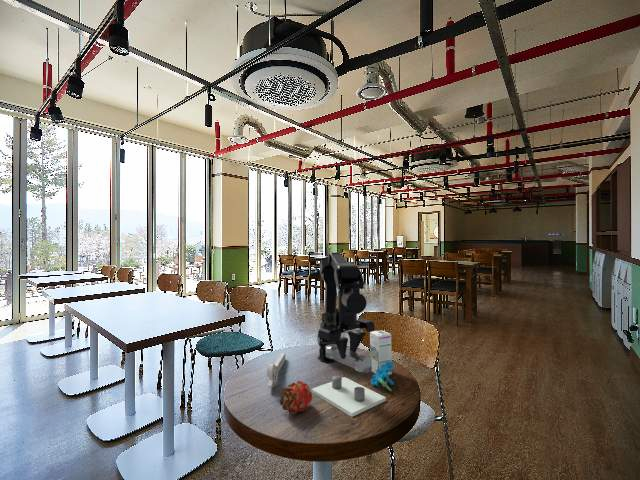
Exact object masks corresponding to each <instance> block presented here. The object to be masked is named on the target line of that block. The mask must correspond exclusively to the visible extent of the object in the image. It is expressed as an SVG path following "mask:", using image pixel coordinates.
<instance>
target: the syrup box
mask: <svg viewBox="0 0 640 480" xmlns="http://www.w3.org/2000/svg"><path fill="white" fill-rule="evenodd" d="M369 349H370V350H369V351H370V352H369V355H370V356H369V357H371V358H372V370H371V371H370V372H372V373H373V375H374V374H375V375H376V374H377V372H376V370H377V369H379V370H380V368H381V365H382V364H384V365H385V363H386V362H387V361H388V362H389V361H392V359H393V358H392V334H391V333H389V332H388V331H384V330H383V329H381V330H374V331H370V332H369ZM392 362H393V361H392ZM392 371H393V370H392ZM392 371H391V372H388V375H389V374H390V375H392V374H393V372H392ZM390 375H389V376H390Z"/></svg>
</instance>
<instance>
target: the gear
mask: <svg viewBox="0 0 640 480" xmlns="http://www.w3.org/2000/svg"><path fill="white" fill-rule="evenodd" d="M394 366H395V364H394V362H393V361H389V362H388V361H387V362H386V363H385V365H384V364H382V365H381V368H380V370H379V369H377V370H376V372H377V374H374V373H373V375H372V376H371V377H372V378H371V380H370V383H371V385H372V387H374V386H376V387H377V386H379V383H380V384H381V386H382V387H383V388H386V389H387V390H388V391H389V392H392V388H390V386H393V385H394V384H395V382H394V381H393V380H392V379H390V378H389V376H390V375H388V372H391V371H393V370H394V369H393V368H394ZM388 383H389V384H390V386H389V385H388Z"/></svg>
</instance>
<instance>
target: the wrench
mask: <svg viewBox="0 0 640 480" xmlns="http://www.w3.org/2000/svg"><path fill="white" fill-rule="evenodd" d="M285 361H286V353H283V352H282V353H280V354H279V356H278V358H276V361H275V362H274V363H269V364H268V365H267V369H266V377H267V378H269V379H268V380H269V381H268V384H267V387H268V388H270V389H271V388H275V387H276V382H277V377H278V375H279V372H280V370H281V369H282V367H283V365H284V363H285Z"/></svg>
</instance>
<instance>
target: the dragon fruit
mask: <svg viewBox="0 0 640 480" xmlns="http://www.w3.org/2000/svg"><path fill="white" fill-rule="evenodd" d="M280 391H281V394H282V395H281V397H280V400H279V404H280V405H281V406H282V407H281V408H282V410H283V411H288V412H289V414H290V415H293V416H294V415H295V416H296V415H297V414H298V413H299V412H301V413H304V412H308V410H309V409H308V405H310V404H311V401H312V400H313V393H312V391H311V388H310V387H309V385H308V383H306V382H303V381H302V380H298V381H297V382H296V383H295V382H291V383H289V384H288V387H283V388H282V389H281V390H280Z"/></svg>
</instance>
